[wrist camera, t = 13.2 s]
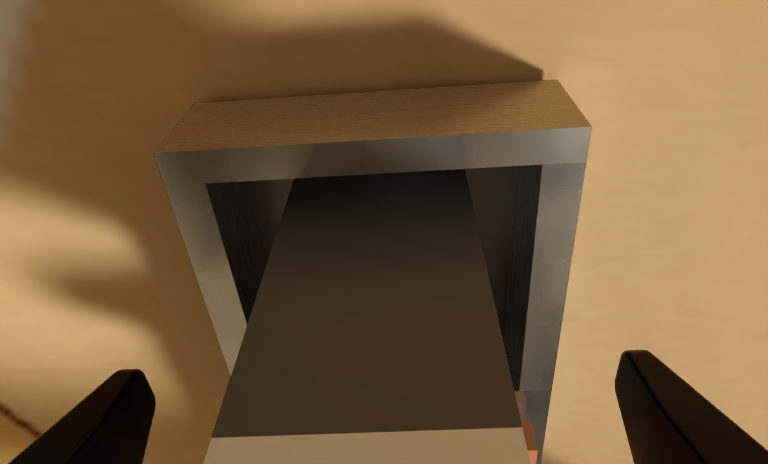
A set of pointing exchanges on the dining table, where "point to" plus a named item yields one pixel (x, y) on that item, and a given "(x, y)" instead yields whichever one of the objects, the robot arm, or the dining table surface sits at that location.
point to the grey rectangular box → (392, 155)
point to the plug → (373, 334)
